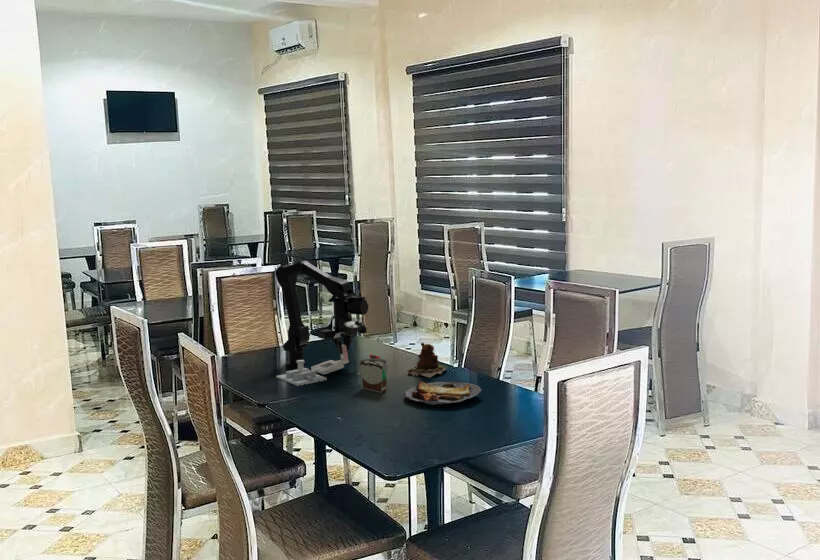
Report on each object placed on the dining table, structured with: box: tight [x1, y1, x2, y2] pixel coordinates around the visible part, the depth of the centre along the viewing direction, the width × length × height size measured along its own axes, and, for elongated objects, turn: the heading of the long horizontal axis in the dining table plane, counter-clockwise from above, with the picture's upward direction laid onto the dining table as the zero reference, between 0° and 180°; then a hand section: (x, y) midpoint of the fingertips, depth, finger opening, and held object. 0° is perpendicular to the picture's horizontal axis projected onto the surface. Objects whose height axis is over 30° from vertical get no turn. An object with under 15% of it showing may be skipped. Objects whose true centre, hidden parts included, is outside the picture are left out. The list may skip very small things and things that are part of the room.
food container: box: [358, 358, 390, 394], centre depth 274 cm, size 12×6×10 cm, turn 47°
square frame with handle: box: [310, 343, 350, 376], centre depth 301 cm, size 14×9×7 cm, turn 127°
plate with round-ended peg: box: [275, 359, 327, 387], centre depth 291 cm, size 16×12×7 cm
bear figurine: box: [406, 342, 447, 379], centre depth 295 cm, size 14×15×12 cm
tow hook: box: [356, 354, 381, 376], centre depth 296 cm, size 7×10×7 cm
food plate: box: [403, 381, 482, 406], centre depth 261 cm, size 25×23×4 cm
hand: (343, 353), depth 304 cm, fingers closed on square frame with handle, 2 cm apart
